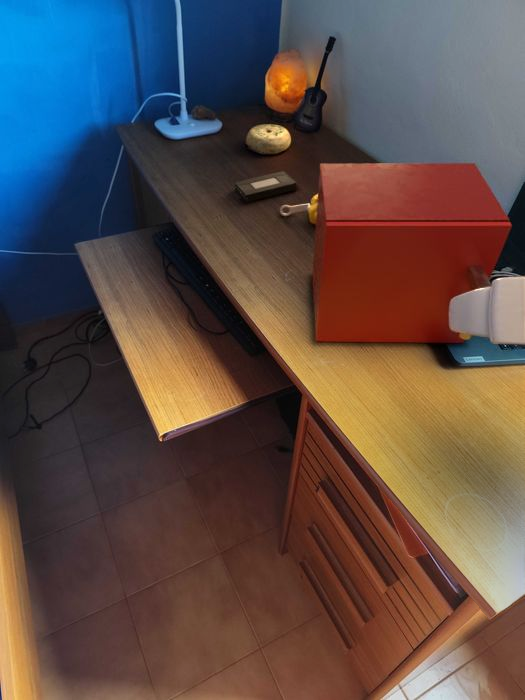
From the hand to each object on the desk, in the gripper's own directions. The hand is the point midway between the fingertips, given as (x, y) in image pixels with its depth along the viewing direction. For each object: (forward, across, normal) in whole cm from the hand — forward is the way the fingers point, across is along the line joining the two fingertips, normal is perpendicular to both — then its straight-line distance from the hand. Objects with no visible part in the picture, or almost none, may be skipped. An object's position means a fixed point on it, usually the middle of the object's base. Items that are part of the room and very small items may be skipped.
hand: (514, 317), depth 58 cm
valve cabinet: (+32, +10, -4) cm, 34 cm away
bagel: (+84, +34, -55) cm, 106 cm away
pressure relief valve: (+54, +24, -25) cm, 64 cm away
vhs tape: (+65, +34, -36) cm, 81 cm away
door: (+23, +10, +5) cm, 25 cm away
